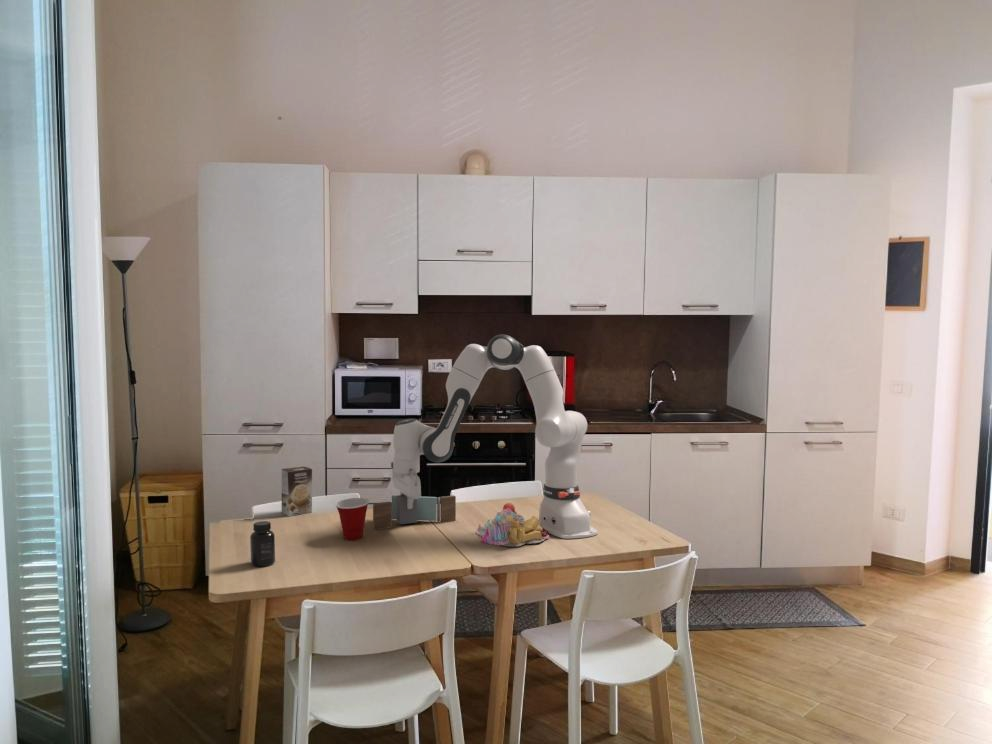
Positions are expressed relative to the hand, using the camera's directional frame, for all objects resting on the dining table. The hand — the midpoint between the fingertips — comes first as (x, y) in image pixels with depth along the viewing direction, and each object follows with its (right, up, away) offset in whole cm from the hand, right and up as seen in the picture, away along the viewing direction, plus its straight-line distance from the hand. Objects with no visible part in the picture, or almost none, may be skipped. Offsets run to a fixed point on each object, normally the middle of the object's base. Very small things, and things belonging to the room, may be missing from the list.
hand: (406, 506), depth 275 cm
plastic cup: (-16, -8, -16) cm, 24 cm away
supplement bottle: (-37, -10, -41) cm, 57 cm away
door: (+3, -5, +5) cm, 7 cm away
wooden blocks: (+3, -6, 0) cm, 7 cm away
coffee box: (-41, -5, +14) cm, 43 cm away
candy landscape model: (+35, -8, -12) cm, 38 cm away
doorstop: (0, -5, 0) cm, 5 cm away
